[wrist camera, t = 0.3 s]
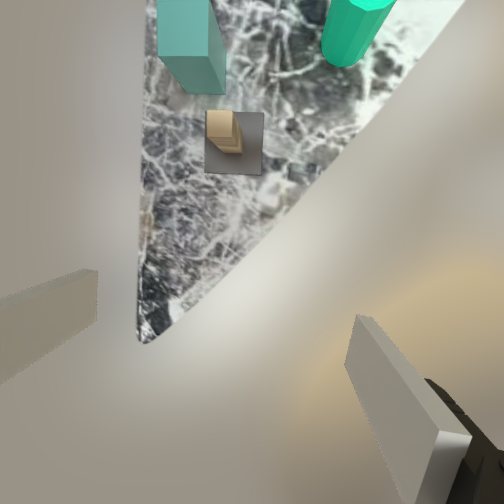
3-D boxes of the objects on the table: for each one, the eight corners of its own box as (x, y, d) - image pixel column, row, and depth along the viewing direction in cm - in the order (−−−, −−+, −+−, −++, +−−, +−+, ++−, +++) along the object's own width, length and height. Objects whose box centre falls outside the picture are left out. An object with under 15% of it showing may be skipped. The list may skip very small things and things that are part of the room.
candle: (360, 5, 33) (408, -104, 21) (374, 55, 34) (428, -24, 22) (313, 27, 34) (334, -65, 22) (329, 75, 35) (357, 10, 23)
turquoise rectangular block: (187, 51, 36) (156, -4, 26) (226, 51, 35) (208, -4, 26) (187, 93, 36) (157, 55, 27) (225, 94, 36) (207, 56, 27)
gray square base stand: (206, 112, 37) (181, 80, 27) (263, 114, 36) (260, 81, 26) (205, 172, 38) (181, 162, 28) (261, 175, 38) (256, 165, 28)
